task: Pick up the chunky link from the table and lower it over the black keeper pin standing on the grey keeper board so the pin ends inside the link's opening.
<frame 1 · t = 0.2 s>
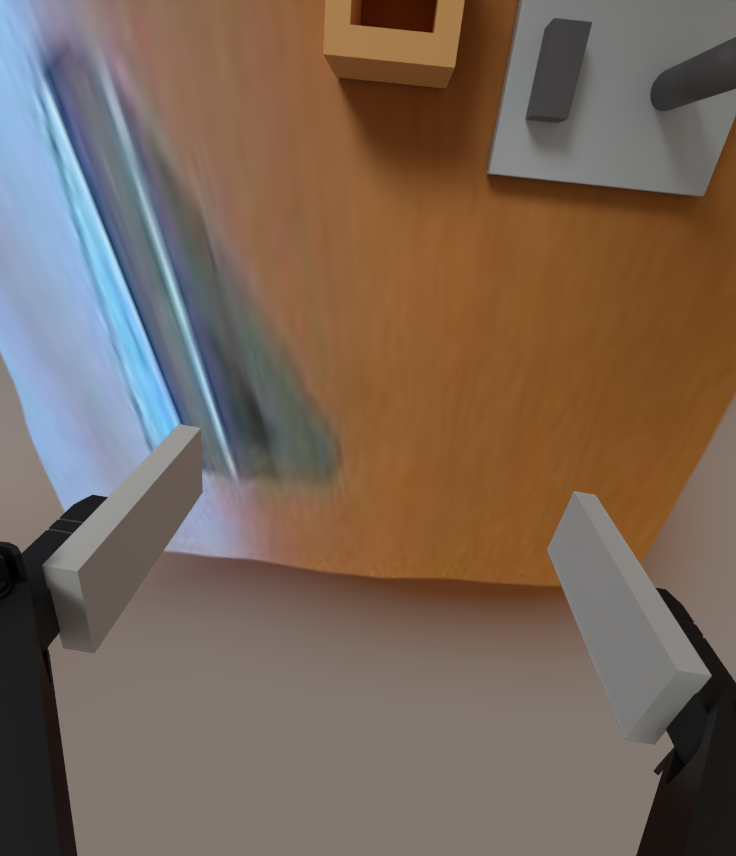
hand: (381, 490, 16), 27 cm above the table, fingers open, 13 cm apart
keeper board: (617, 88, 32), on the table
link: (398, 10, 31), on the table
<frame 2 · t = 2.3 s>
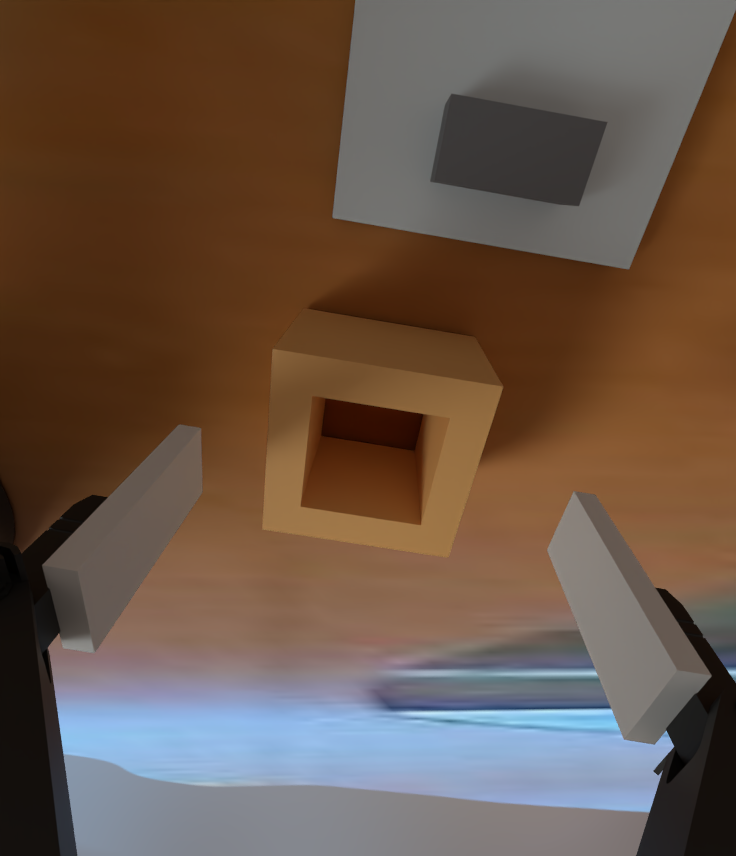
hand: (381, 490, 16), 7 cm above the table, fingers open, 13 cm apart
link: (375, 400, 22), on the table
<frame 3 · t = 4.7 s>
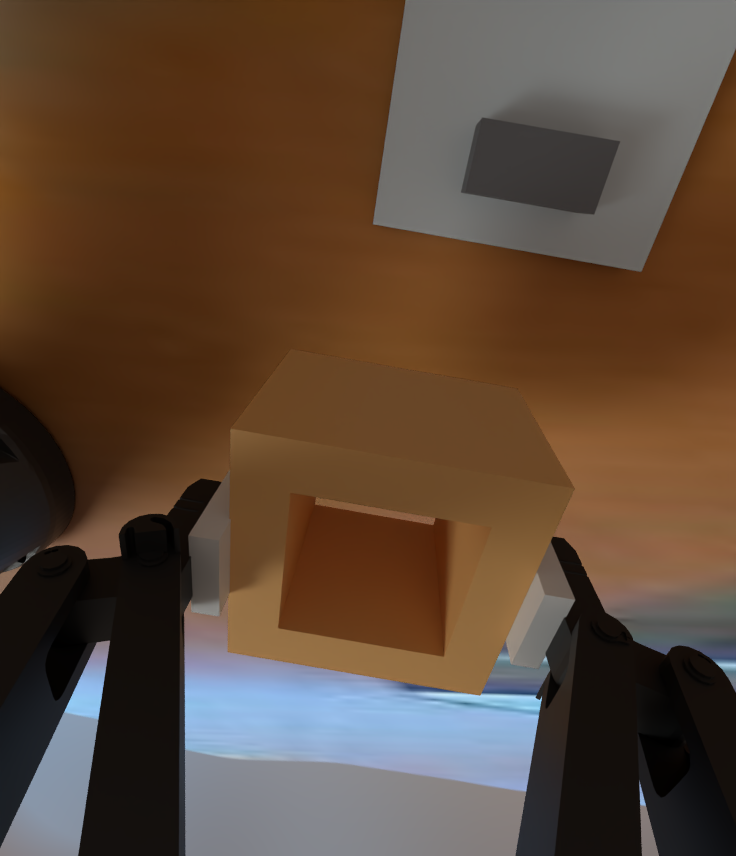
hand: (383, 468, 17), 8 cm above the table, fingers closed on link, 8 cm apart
keeper board: (563, 23, 17), on the table
link: (384, 464, 17), point 8 cm above the table, touching gripper
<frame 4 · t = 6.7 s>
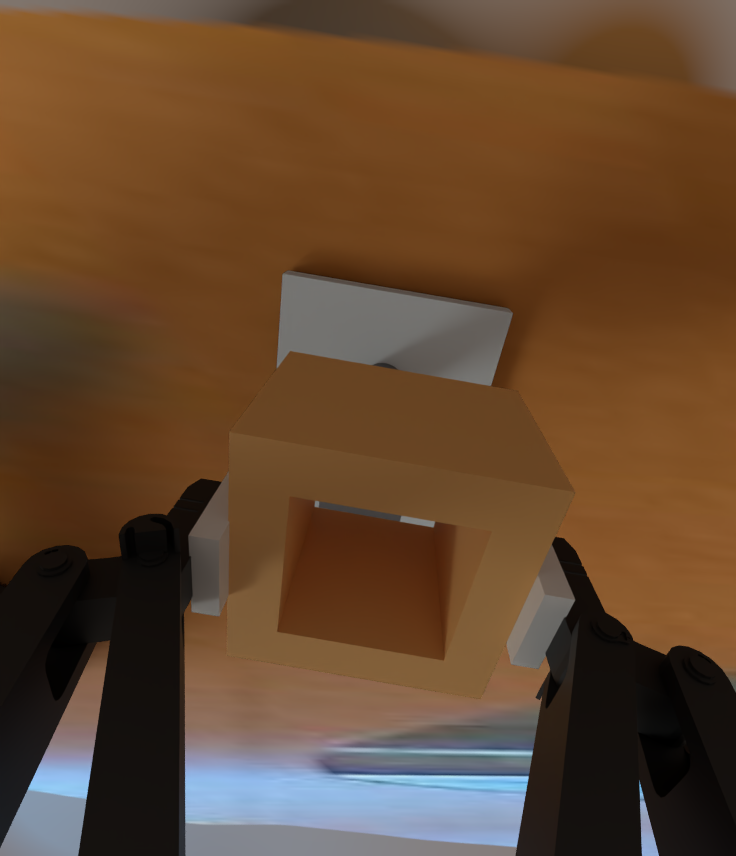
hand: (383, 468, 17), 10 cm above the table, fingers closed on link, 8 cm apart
keeper board: (374, 420, 28), on the table
link: (384, 466, 17), point 10 cm above the table, touching gripper
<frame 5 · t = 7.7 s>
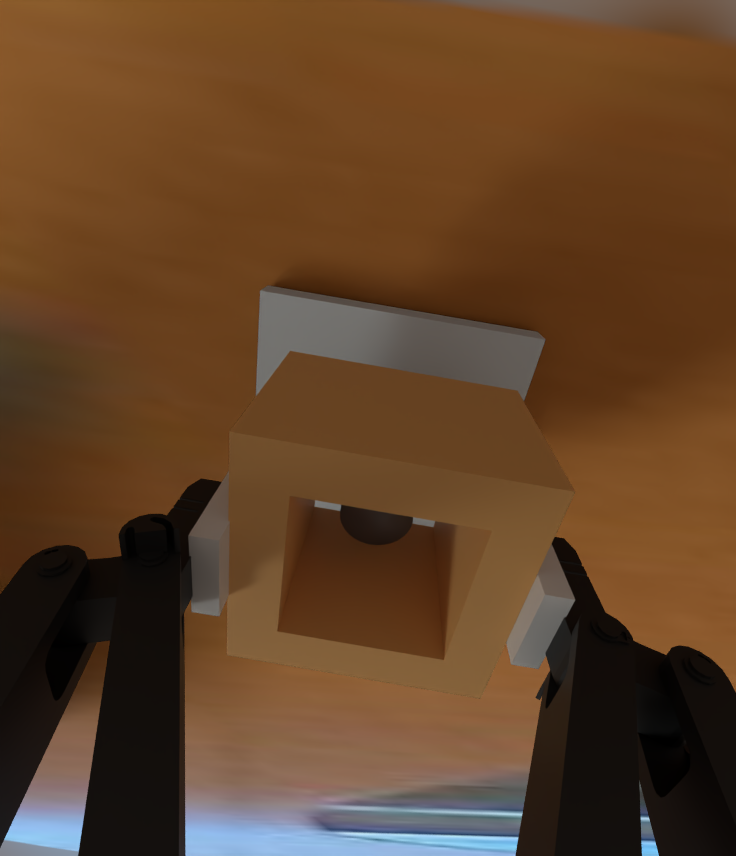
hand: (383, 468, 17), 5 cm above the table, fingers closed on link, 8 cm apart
keeper board: (374, 461, 23), on the table
link: (384, 466, 17), point 5 cm above the table, touching gripper
when the fingers open (2 cm above the table, at t = 8.8 s): link stays where it is, resting on keeper board.
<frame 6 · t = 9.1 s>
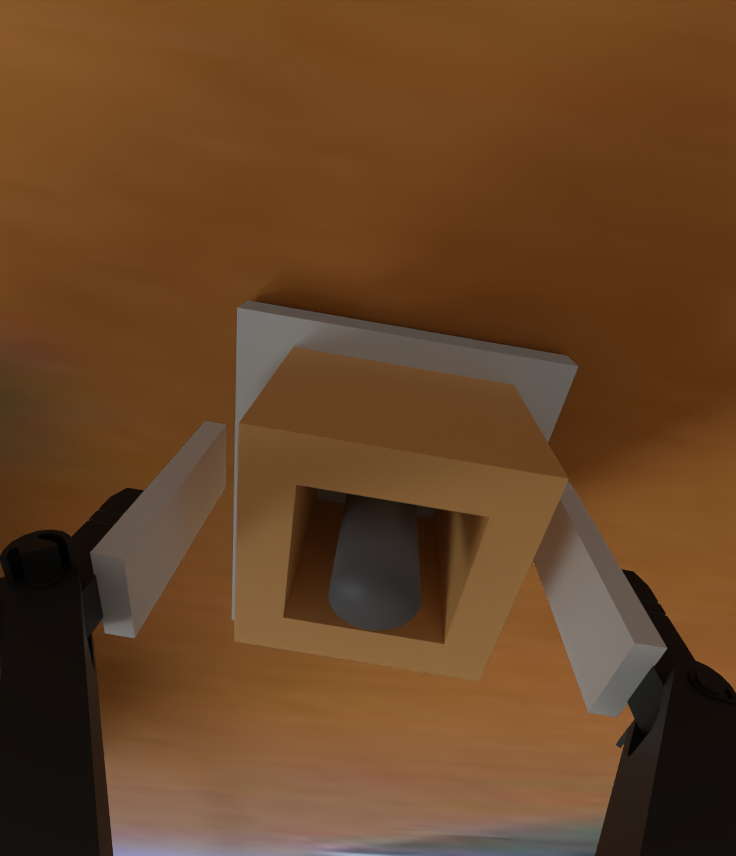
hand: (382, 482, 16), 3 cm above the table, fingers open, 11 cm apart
keeper board: (373, 500, 20), on the table
link: (384, 459, 18), point 1 cm above the table, touching keeper board
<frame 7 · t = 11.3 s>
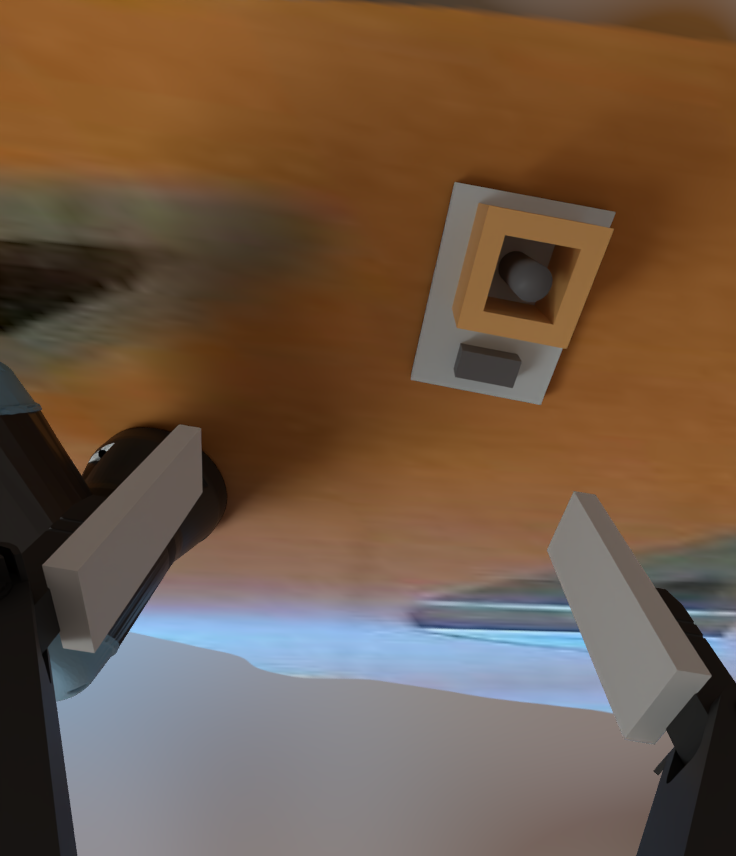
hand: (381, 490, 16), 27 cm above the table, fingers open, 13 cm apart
keeper board: (500, 301, 38), on the table
link: (514, 267, 35), point 1 cm above the table, touching keeper board
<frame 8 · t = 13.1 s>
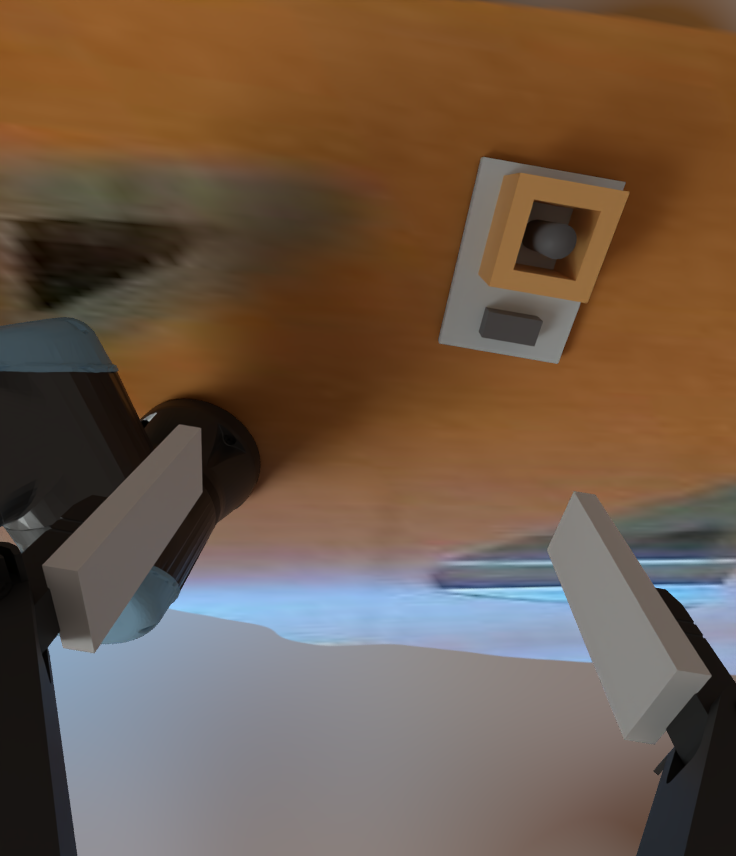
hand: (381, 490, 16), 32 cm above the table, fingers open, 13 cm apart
keeper board: (520, 268, 42), on the table
link: (535, 235, 39), point 1 cm above the table, touching keeper board
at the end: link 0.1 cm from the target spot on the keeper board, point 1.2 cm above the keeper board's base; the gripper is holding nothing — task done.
